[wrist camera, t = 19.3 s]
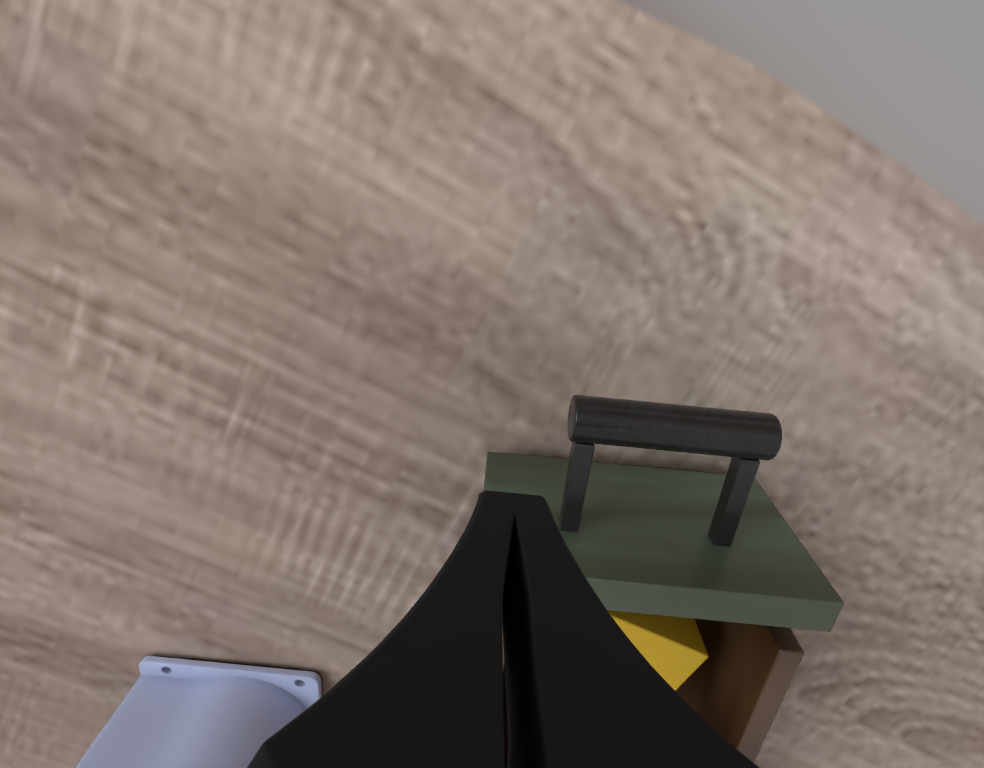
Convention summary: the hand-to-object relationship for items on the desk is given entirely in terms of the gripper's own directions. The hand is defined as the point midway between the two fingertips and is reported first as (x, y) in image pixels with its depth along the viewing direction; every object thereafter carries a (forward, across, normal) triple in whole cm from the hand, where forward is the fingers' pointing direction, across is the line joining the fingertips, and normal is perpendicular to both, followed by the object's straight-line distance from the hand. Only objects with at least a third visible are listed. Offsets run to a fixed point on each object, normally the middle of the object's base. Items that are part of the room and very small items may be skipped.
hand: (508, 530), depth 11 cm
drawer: (+9, -5, +8) cm, 13 cm away
